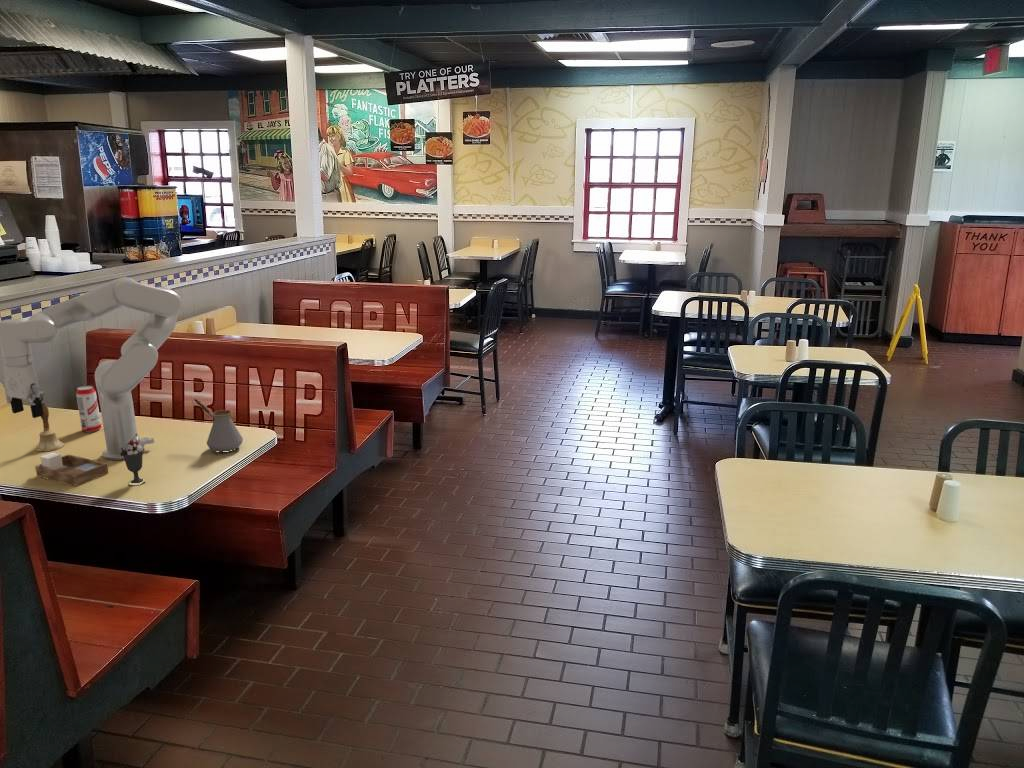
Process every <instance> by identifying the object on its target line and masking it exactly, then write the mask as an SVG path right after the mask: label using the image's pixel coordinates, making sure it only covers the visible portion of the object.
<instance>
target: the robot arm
mask: <svg viewBox="0 0 1024 768" xmlns="http://www.w3.org/2000/svg"><path fill="white" fill-rule="evenodd" d="M124 307H126V308H129V309H133V310H136V311H138V312H139V311H140V312H144V313H147V314H149V315H148V317H147V318H146V320H145V321H144V322H143V323H142V325H141V326H140V327H138V329H137V330H136V331H135V332H134V333H132V334H131V336H130V337H128V339H126V341H124V343H122V345H121V347H120V354H121V356H120V357H119V358H118V359H117V360H113V359H112V360H111V359H109V360H104V361H102V362H101V363H100V364H98V366H97V367H96V369H95V371H94V381H95V386H96V390H97V391H96V392H97V394H98V396H97V397H98V400H99V406H100V415H101V421H102V426H103V433H104V439H105V445H106V449H105V450H103V451H102V453H101V455H102V458H104V459H105V460H107V461H108V460H109V461H122V459H123V460H125V459H124V457H123V456H121V455H120V452H121V451H122V450H121V448H122V449H123V450H124V449H125V446H126V444H127V443H129V442H130V440H133V441H134V442H135V441H136V440H137V441H138V442H139V445H140V446H141V447H142V448H143V449H144V450H145V445H151V444H154V443H155V440H154V437H148V436H145V437H143V438H141V437H139V436H138V435H137V436H135V434H138V428H137V424H136V416H135V408H134V401H133V395H132V390H133V389H134V388H136V387H137V385H139V383H141V381H143V380H144V378H145V377H146V376H147V375H148V374H149V373H150V372H151V371H152V370H153V369H154V367H155V366H156V365H157V362H158V359H159V352H158V350H159V348H160V347H161V346H163V344H164V343H165V342H166V341H167V340H168V338H169V337H170V336H171V334H172V333H173V332H174V330H175V328H176V325H177V321H178V314H179V313H180V311H181V310H182V309H183V300H182V298H181V297H180V295H179V294H178V293H176V292H175V291H174V290H172V289H171V288H168V287H167V286H157V287H155V286H152V285H149V284H148V285H147V284H145V283H141V282H139V281H136V280H135V279H133V278H131V277H127V276H123V277H118V278H116V279H114V280H112V281H110V282H107V283H104V284H103V285H100V286H99V287H96V288H93V289H91V290H90V291H87V292H85V293H83V294H80V295H77V296H75V297H72V298H69V299H67V300H64V301H61V302H59V303H56V304H53V305H51V306H49V307H46V308H44V309H42V310H40V311H38V312H36V313H34V314H33V315H31V316H30V317H29V318H28V319H27V320H24V319H20V318H12V319H11V318H8V319H3V320H0V350H1V356H2V360H3V380H4V390H5V393H6V395H7V396H8V400H9V402H10V407H11V411H12V413H13V414H17V413H21V412H24V405H23V400H27V399H28V402H29V403H30V404H31V405H30V406H29V407H30V410H31V411H30V412H31V416H32V417H31V418H33V419H36V418H41V416H43V415H44V413H43V408H42V403H43V402H44V401H43V400H44V394H45V393H44V391H43V390H42V389H41V388H40V384H39V380H38V376H37V372H36V369H35V367H34V359H33V352H32V346H31V344H32V343H33V344H34V343H35V344H43V343H44V344H45V343H50V342H52V341H54V340H55V339H56V338H57V337H58V335H59V331H60V330H61V329H63V328H65V327H68V326H70V325H74V324H76V323H80V322H81V323H82V322H91V321H95V320H98V319H101V318H103V317H104V316H106V315H109V314H111V313H113V312H115V311H117V310H119V309H123V308H124ZM134 437H135V438H134ZM133 438H134V439H133ZM145 451H146V450H145Z"/></svg>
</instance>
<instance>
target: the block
mask: <svg viewBox="0 0 1024 768" xmlns="http://www.w3.org/2000/svg"><path fill="white" fill-rule="evenodd" d="M40 464H42V467H46V468H49V469H53V470H55V469H58V468H60V467H63V463H62V454H60V453H58V452H57V453H56V452H52V451H51V452H50V453H47V454H44V455H41V456H40Z"/></svg>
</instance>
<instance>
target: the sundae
mask: <svg viewBox="0 0 1024 768" xmlns="http://www.w3.org/2000/svg"><path fill="white" fill-rule="evenodd" d="M137 435H138V433H137V434H135V436H137ZM134 438H135V437H134ZM134 438H133V439H134ZM121 450H122V451H121V452H120V455H121V456H123V457H124V459H123V460H124V462H125V466H126V468H127V470H128V471H130V472H131V473H133V479H132V480H130V481H131V483H140V482H142V481H143V479H144V478H140V476H139V472H140V471H141V469H142V468H143V457H144V456H143V454H144V453H145V451H146V450H144V449H143V448H142V447H141V446H140V445H139V442H138V441H137V440H136V441H135V442H134V441H133V440H130V442H129V443H127V444H126V446H125V449H124V450H123V449H122V448H121Z"/></svg>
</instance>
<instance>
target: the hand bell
mask: <svg viewBox="0 0 1024 768" xmlns="http://www.w3.org/2000/svg"><path fill="white" fill-rule="evenodd" d="M42 408H43V413H44V415H43V416H40V418H41V420H42V425H43V431H41V432H40V433H39V441H38V444H37V446H36V447H35V451H36V450H37V452H41V451H44V452H52V451H56V450H59V449H62V448H63V447H64V446H65V444H64V443H63V442H62V441H60V440H59V439H58V437H57V434H56V432H55V431H54V430H52V429H50V424H49V414H50V413H49V412H50V411H49V408H48V406H47V403H46V402H45V401H43V403H42Z"/></svg>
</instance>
